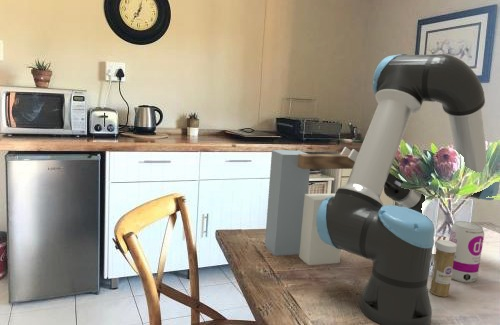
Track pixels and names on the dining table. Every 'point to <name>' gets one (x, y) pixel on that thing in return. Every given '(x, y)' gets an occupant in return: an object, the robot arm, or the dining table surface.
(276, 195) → the step stand
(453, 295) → the dining table surface
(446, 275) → the sprinkles bottle
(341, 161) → the walnut bar
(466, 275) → the supplement can
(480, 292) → the dining table surface
